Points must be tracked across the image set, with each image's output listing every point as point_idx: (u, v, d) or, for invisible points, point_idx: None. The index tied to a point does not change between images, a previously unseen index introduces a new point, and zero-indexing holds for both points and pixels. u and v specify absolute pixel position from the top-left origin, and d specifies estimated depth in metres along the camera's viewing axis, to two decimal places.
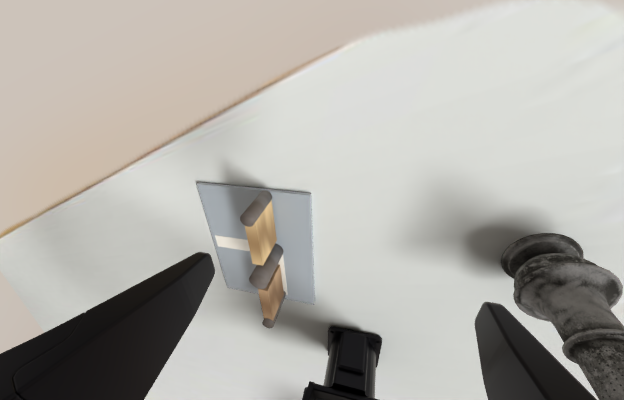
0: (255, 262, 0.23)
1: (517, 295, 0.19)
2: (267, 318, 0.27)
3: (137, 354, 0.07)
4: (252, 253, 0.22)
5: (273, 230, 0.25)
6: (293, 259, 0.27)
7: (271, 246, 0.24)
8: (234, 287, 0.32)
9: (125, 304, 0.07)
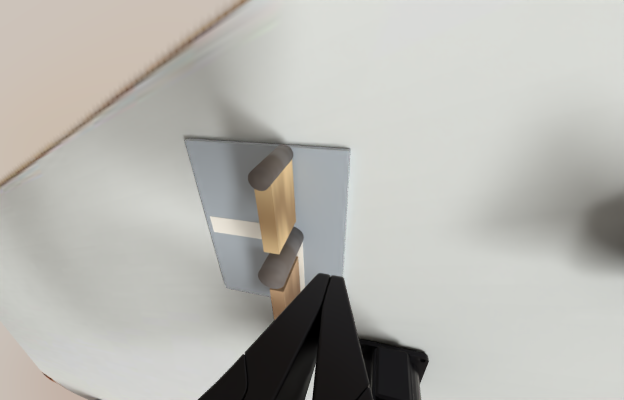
0: (268, 249, 0.16)
1: None
2: None
3: None
4: (264, 235, 0.15)
5: (292, 206, 0.17)
6: (316, 249, 0.20)
7: (289, 228, 0.17)
8: (234, 288, 0.25)
9: (285, 343, 0.06)
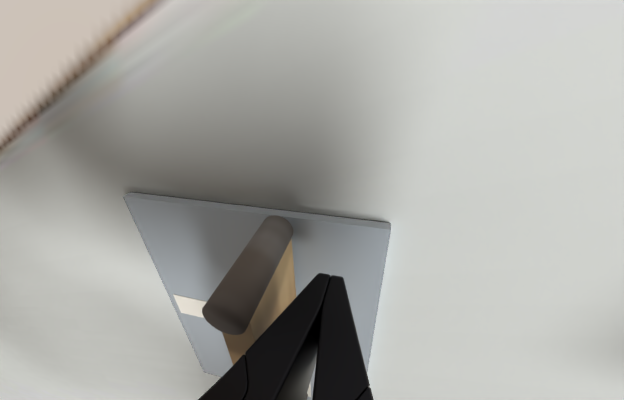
0: None
1: None
2: None
3: None
4: None
5: None
6: None
7: None
8: (215, 373, 0.19)
9: (285, 343, 0.06)
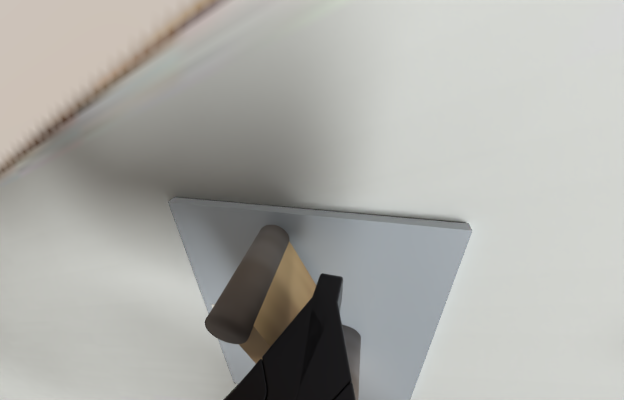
0: None
1: None
2: None
3: None
4: None
5: None
6: (379, 355, 0.13)
7: None
8: None
9: (302, 347, 0.06)
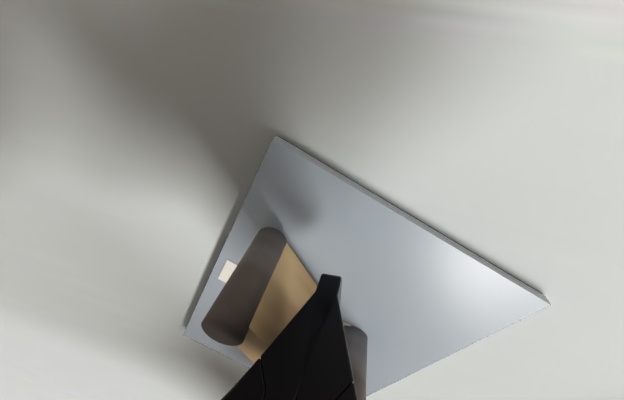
0: None
1: None
2: None
3: None
4: None
5: None
6: (369, 361, 0.13)
7: None
8: (198, 340, 0.16)
9: (300, 346, 0.06)
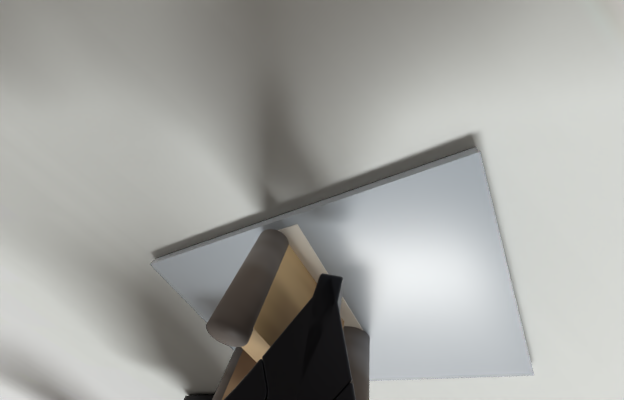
0: None
1: None
2: None
3: None
4: None
5: None
6: None
7: None
8: (165, 277, 0.13)
9: (302, 347, 0.06)
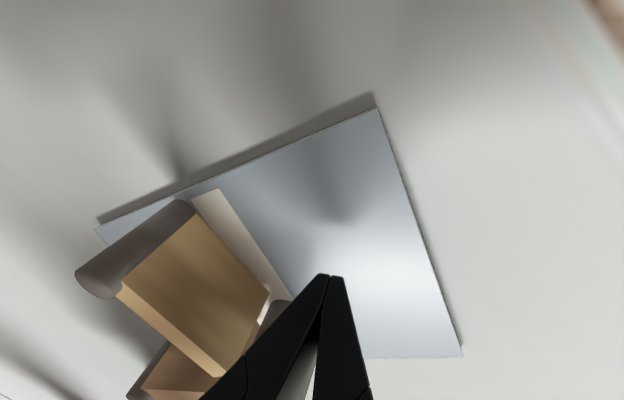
0: (213, 372, 0.09)
1: None
2: (149, 394, 0.12)
3: None
4: (191, 355, 0.09)
5: (243, 276, 0.11)
6: None
7: (251, 313, 0.10)
8: (109, 243, 0.14)
9: (285, 343, 0.06)
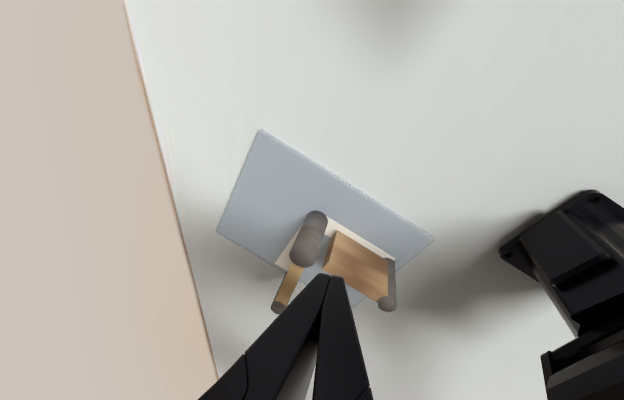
0: (298, 271, 0.18)
1: None
2: (378, 298, 0.18)
3: None
4: (295, 280, 0.19)
5: None
6: (340, 211, 0.20)
7: None
8: (352, 304, 0.25)
9: (285, 343, 0.06)
